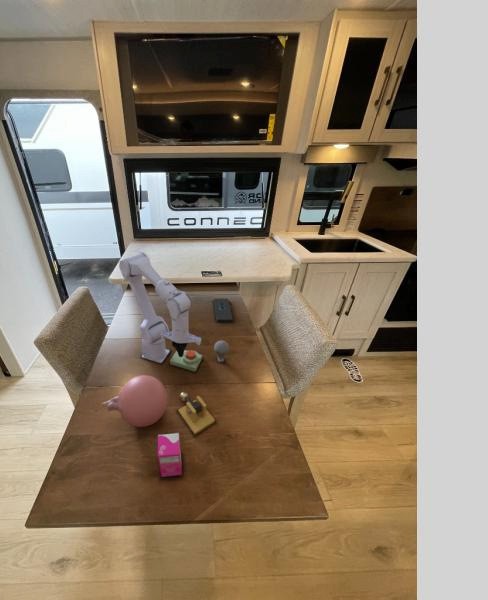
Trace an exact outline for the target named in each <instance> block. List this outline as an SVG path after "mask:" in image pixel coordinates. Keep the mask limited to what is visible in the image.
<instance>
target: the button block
mask: <svg viewBox="0 0 488 600" xmlns="http://www.w3.org/2000/svg"><path fill="white" fill-rule="evenodd" d="M191 350H192V349H191ZM188 351H190V350H184V355H183V357H179V355H178V353H177V351H176V350H175V353H174V354H172V355H173V356H172V357H171V358H170V360H169V365H172V366H176V367H178V368H181V369H185V370H187V371H191V372H196V371H197V369H198V367H199V365H200V363H201V361H202V360H203V354H200V353H198V352H197V351H196V350H194V349H193V350H192V351H194V352H195V358H194V359H192V360H189V359H187V357H186V353H187V352H188Z"/></svg>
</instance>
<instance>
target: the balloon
mask: <svg viewBox="0 0 488 600" xmlns="http://www.w3.org/2000/svg"><path fill="white" fill-rule="evenodd" d="M163 384H164V383H162V382H161V381H160V380H159V379H158V378H156V377H154V376H151V375H145V374H144V375H143V374H142V375H137V376H134V377H132V378H131V379H129V380H128V381H127V382H126V383H125V384H124V385H123V387H122V388H121V390H120V391H119V392H118V394H117V396H114V397H112V398H110V399H109V400H106V401H105V402H104V401H103V402H102V403H101V405H102V407H106V411H109V412H111V411H117V412H118V413H120V415H121V417H122V419H123V420H124V421H125V422H127V423H128V424H129V425H131V426H134V427H137V428H144V427H148V426H151V425H153V424H155V423H156V422H158V421H159V420H160V419H161V418H162V417H163V415H164V414H165V411H166V409H167V405H168V393H167V390H166V387H165V386H164V385H163Z"/></svg>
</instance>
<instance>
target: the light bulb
mask: <svg viewBox="0 0 488 600" xmlns="http://www.w3.org/2000/svg"><path fill="white" fill-rule="evenodd" d="M213 349H214V353H215V354H216V356H217V361H218V362H219V363H223V362H225V357H226V355H227V354H228V353H229V352H230V345H229V343H228V342H227V341H225V340H217V341H216V342H215V344H214V347H213Z"/></svg>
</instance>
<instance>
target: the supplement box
mask: <svg viewBox="0 0 488 600" xmlns="http://www.w3.org/2000/svg"><path fill="white" fill-rule="evenodd" d="M180 443H181V442H180V433H179V432H175V433H167V434H158V435H157V459H158V465H159V471H160V477H161V478H167V477H168V478H169V477H177V476H182V475H183V469H182V467H183V466H182V455H181V454H182V453H181V446H180V445H181V444H180Z"/></svg>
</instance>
